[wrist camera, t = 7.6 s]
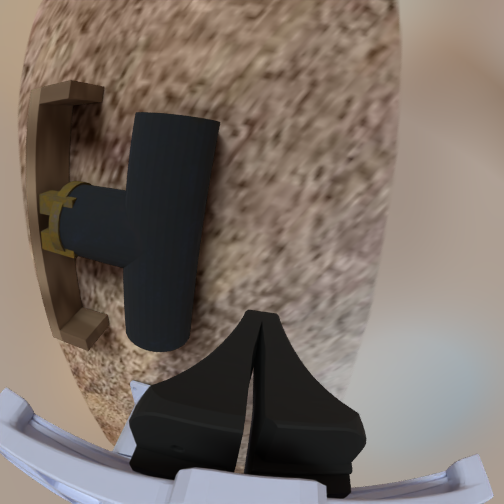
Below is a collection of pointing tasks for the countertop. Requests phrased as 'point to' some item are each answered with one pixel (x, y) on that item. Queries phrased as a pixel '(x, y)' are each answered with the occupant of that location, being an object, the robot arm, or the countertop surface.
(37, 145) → the stop rail
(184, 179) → the pipe connector
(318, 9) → the countertop surface
